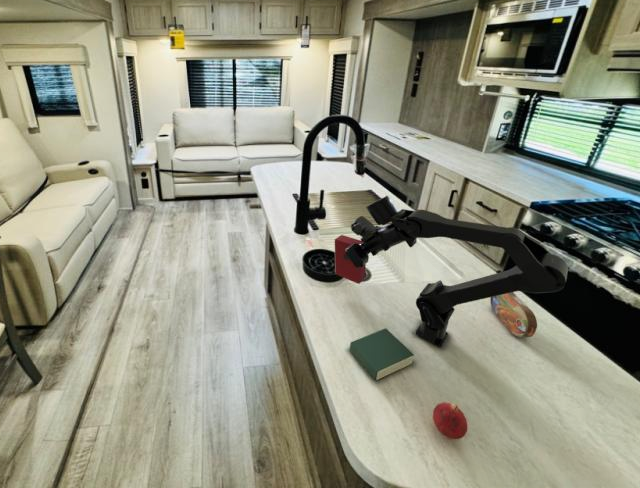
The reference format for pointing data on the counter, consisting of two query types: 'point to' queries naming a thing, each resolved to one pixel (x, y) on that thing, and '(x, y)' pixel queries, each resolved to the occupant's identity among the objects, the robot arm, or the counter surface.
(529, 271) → the robot arm
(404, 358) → the hardcover
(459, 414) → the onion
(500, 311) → the tin
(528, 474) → the counter surface
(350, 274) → the paperback
